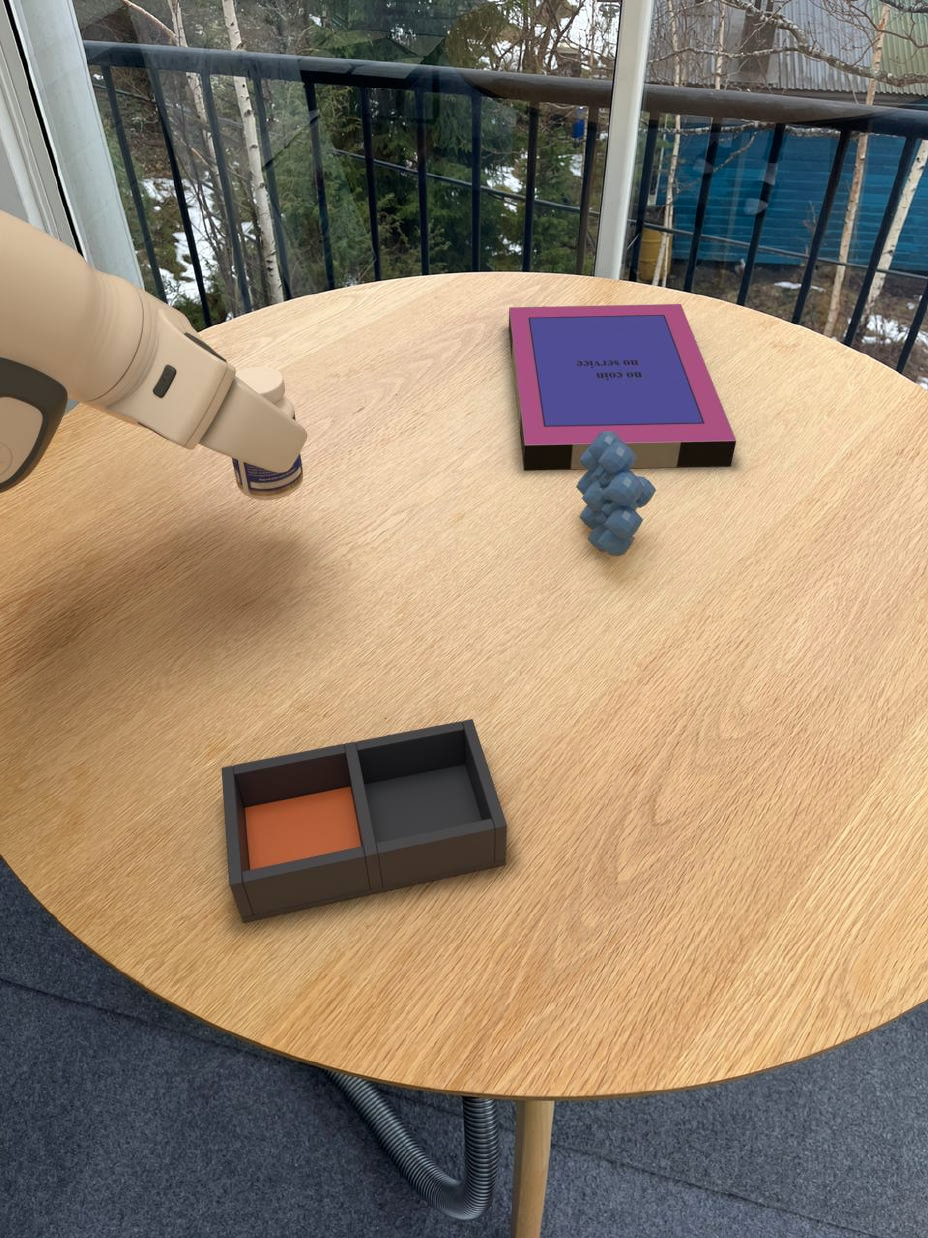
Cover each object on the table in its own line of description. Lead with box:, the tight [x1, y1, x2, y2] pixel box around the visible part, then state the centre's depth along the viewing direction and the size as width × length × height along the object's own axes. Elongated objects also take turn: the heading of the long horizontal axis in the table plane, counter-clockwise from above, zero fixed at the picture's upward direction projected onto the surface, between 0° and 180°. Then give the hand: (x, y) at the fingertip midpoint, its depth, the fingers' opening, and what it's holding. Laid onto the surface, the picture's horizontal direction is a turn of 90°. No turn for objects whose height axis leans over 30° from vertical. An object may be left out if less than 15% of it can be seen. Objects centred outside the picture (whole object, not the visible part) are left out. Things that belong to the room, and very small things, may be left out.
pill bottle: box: [231, 366, 304, 501], centre depth 78 cm, size 6×6×10 cm
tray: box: [221, 718, 508, 923], centre depth 63 cm, size 17×9×5 cm, turn 104°
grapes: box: [575, 431, 657, 558], centre depth 82 cm, size 12×7×12 cm, turn 10°
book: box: [508, 303, 737, 471], centre depth 105 cm, size 21×3×30 cm
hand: (268, 426), depth 78 cm, fingers closed on pill bottle, 6 cm apart
